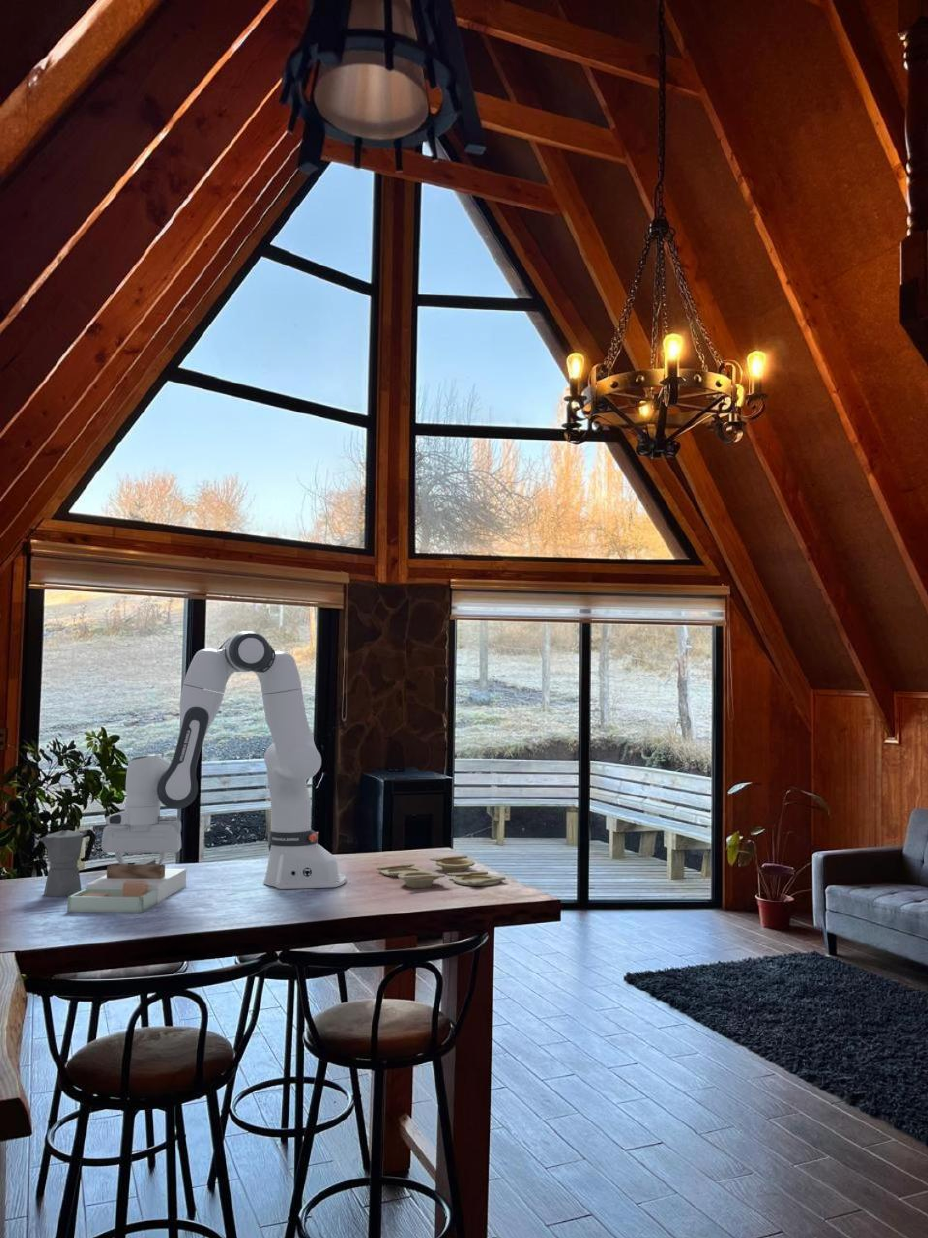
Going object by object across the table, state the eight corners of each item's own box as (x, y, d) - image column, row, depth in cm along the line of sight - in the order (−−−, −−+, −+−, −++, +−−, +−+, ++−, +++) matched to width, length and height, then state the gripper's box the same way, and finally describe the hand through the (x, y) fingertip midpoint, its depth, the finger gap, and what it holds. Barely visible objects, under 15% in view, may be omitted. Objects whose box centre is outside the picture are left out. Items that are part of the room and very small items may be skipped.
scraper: (175, 870, 248) (175, 859, 248) (160, 879, 237) (160, 867, 237) (124, 870, 249) (124, 859, 249) (106, 878, 238) (107, 866, 238)
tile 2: (99, 897, 222) (99, 908, 222) (108, 893, 227) (108, 903, 227) (79, 897, 222) (79, 908, 222) (88, 893, 227) (88, 903, 227)
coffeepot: (48, 900, 233) (51, 827, 234) (28, 895, 238) (31, 824, 240) (104, 890, 245) (106, 821, 246) (83, 885, 251) (86, 818, 252)
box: (157, 903, 230) (157, 889, 230) (141, 913, 220) (142, 898, 220) (85, 902, 230) (86, 888, 231) (67, 912, 220) (67, 897, 221)
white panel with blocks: (185, 885, 250) (186, 869, 251) (157, 903, 230) (157, 885, 230) (120, 885, 251) (120, 868, 252) (85, 902, 230) (86, 884, 231)
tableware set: (511, 887, 252) (511, 872, 252) (409, 896, 241) (409, 880, 241) (464, 865, 284) (464, 851, 285) (372, 871, 274) (372, 857, 274)
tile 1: (147, 881, 229) (143, 883, 227) (146, 901, 229) (142, 903, 226) (127, 880, 229) (123, 882, 227) (126, 901, 229) (122, 903, 227)
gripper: (185, 815, 246) (184, 868, 245) (109, 814, 247) (108, 867, 246) (177, 818, 240) (175, 872, 239) (99, 817, 241) (97, 872, 240)
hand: (140, 870), depth 242 cm, fingers open, 8 cm apart
